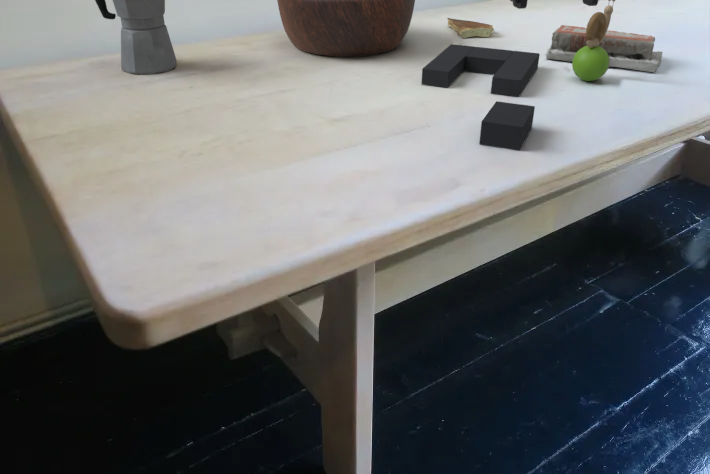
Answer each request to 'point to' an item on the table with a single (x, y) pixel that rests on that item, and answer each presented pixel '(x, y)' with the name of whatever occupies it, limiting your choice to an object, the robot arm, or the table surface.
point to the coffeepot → (142, 35)
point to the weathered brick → (607, 48)
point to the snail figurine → (593, 48)
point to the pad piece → (507, 125)
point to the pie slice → (470, 28)
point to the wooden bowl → (346, 25)
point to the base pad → (483, 67)
